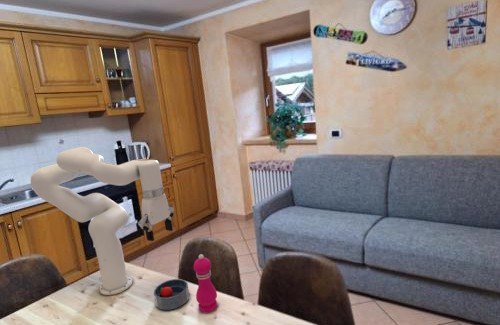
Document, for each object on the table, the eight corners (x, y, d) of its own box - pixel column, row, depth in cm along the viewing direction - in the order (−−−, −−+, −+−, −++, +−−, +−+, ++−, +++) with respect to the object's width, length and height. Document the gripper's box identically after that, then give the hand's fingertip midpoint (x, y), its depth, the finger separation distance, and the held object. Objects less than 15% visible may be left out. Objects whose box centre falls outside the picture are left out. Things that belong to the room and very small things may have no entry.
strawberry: (167, 304, 116) (156, 298, 117) (174, 295, 119) (163, 289, 120) (169, 296, 114) (157, 290, 114) (175, 287, 117) (165, 281, 118)
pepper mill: (214, 314, 107) (207, 259, 103) (194, 313, 108) (186, 259, 104) (220, 300, 114) (214, 249, 110) (202, 300, 115) (194, 249, 111)
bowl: (148, 306, 115) (146, 293, 114) (172, 288, 125) (170, 276, 124) (173, 314, 109) (171, 301, 108) (196, 294, 119) (194, 282, 118)
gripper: (163, 186, 128) (169, 225, 131) (127, 199, 113) (135, 243, 116) (176, 187, 124) (182, 227, 127) (142, 200, 109) (149, 246, 113)
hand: (160, 235), depth 122 cm, fingers open, 9 cm apart
